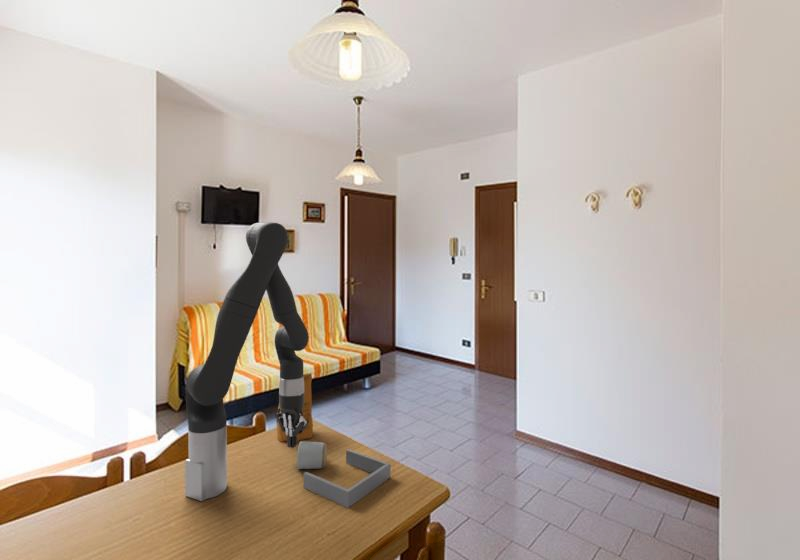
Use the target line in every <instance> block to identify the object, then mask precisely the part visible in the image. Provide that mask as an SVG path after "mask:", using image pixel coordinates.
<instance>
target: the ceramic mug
mask: <svg viewBox="0 0 800 560" xmlns="http://www.w3.org/2000/svg"><path fill="white" fill-rule="evenodd" d="M327 447H328V446H327V443H325V442H321V441H308V440H307V441H306V440H303V441H302V440H299V444H298V447H297V454H296V468H297V470H305V469H306V470H310V469H313V470H317V469H318V470H319V469H323V468H325V466H326V463H327V454H328V452H327V451H328V448H327Z"/></svg>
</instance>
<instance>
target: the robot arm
mask: <svg viewBox="0 0 800 560" xmlns="http://www.w3.org/2000/svg"><path fill="white" fill-rule="evenodd" d="M245 240H246V245H247V247H248V249H249V252H250V254H251V255H252V256H251V258H250V261H249V263H248V264H247V267H246V268H245V270H244V271H243V272H242V273H241V275H239V277H238V278H237V279H236V280H235V281H234V282H233V284H232V285H231V286H230V288H229V289H228V291H227V292H226V293H225V297H224V299H223V302H222V304H221V306H220V308H219V311H218V314H217V318H216V320H215V326H214V327H215V328H214V333H213V341H212V345H211V348H210V351H209V353H208V356H207V358H206V360H205V361H204V364H201V365H198V366H196V367H194V368H193V369H192V370H191V371H190V372H189V373H188V375H187V377H186V380H185V408H186V409H185V410H186V420H187V426H188V428H187V431H188V433H187V434H188V435H187V436H188V441H187V442H188V443H187V444H188V446H187V447H188V448H187V449H188V458H187V459H185V461H184V470H185V471H184V473H185V474H184V477H185V478H184V479H185V482H184V484H185V485H184V487H185V488H184V489H185V493H184V495H185V497H187V498H190V499H194V500H196V501H199V502H203V501H205V500H208V499H212V498H214V497H217V496H220V495H221V494H222V493H224V492H225V491H226V490H227V488H228V460H227V459H228V453H227V452H228V451H227V450H228V449H227V448H228V447H227V446H228V445H227V444H228V443H227V442H228V441H227V440H228V432H227V430H228V426H227V423H228V422H227V419H228V418H227V413H226V412H227V411H226V410H225V409H226V408H225V405H224V398H225V397H226V395H228V392H229V389H230V387H231V384H232V380H233V377H234V373H235V370H236V365H237V362H238V360H239V356H240V354H241V352H242V349H243V347H244V344H245V342H246V340H247V338H248V336H249V333H250V331H251V328H252V326H253V324H254V321H255V319H256V316H257V313H258V311H259V309H260V305H261V304H262V300H263V298H264V295H265V293H267V297H268V300H269V301H268V302H269V305H270V308H271V311H272V316H273V318H274V321H275V322H277V324H280V325H282V326H280V327H279V328H278V329H277V330H276V333H275V336H274V347H275V350H276V355H277V358H278V363H279V384H278V390H279V391H278V406H279V407H280V408H281V412H280V413H278V414H277V413H276V414H275V418H276V419H277V421H278V423H279V425H280V427H281V430H282V431H283V432H286V435H287V441H286V444H287V445H286V446H287V447H288V448H290V449H292V448H294V447H296V445H297V444H298V443H297V442H298V441H297V435H298V434H301V433H302V432H303V430H304V429H305V427H306V426H307V424H308V423H309V421H308V420H305V419H304V417H303V411H302V408H303V406H304V378H303V375H304V360H303V358H302V357H300V356H299V355H297V354H296V352H300V351H303V350H305V349H306V347H307V346H308V343H309V338H310V337H309V333H308V329H307V327H306V325H305V323H304V321H303V319H302V318H301V315H300V313H299V312H298V310H297V305H296V300H295V297H294V294H293V291H292V289H291V286H290V284H289V283H288V281H287V279H286V277H285V276H284V273H283V272H282V270H281V268H280V266H279V262H280V260H281V258H282V257H283V255H284V253H285V250H286V249H287V245H288V241H289V234H288V231H287V229H286V228H285V226H284V225H282V224H281V223H278V222H272V221H271V222H269V221H268V222H256V223H253V224H251V225H250V226H249V227H248V229H247V230H246V233H245ZM295 351H296V352H295ZM277 421H276V422H277ZM283 424H284V425H283Z"/></svg>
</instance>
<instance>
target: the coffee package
mask: <svg viewBox="0 0 800 560" xmlns="http://www.w3.org/2000/svg"><path fill="white" fill-rule="evenodd" d="M303 378H304V406H303V408H302V411H303V417H304V419H305V420H308V421H309V423H308V424H307V426H306V427H305V429H304V430H303V432H302V433H301V434H298V435H297V442H300V441H302V440H303V441H304V440H307V439H311V438H312V437H313V431H314V429H313V427H314V423H313V416H312V413H313V412H312V411H313V410H312V408H313V407H312V406H313V405H312V404H313V403H312V399H313V398H312V381H313V377H312V373H311V372H309V373H305V374H304V373H303ZM280 412H281V408H280V407H279V405H278V407H277V411H276V414H278V413H280ZM283 425H284V424H283ZM276 431H277V432H276V435H277V437H276V438H277V440H278V441H279V443H280V442H281V443H282V442H287V435H286V432H283V431H282V430H281V427H280V425H279V423H278V421H277V418H276Z"/></svg>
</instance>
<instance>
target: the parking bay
mask: <svg viewBox="0 0 800 560" xmlns="http://www.w3.org/2000/svg"><path fill="white" fill-rule="evenodd" d="M345 463H346V464H347V465H350V466H353V467H354V468H355V467H356V468H358V469H361V470H362V471H363V470H364V471H366V472H368V473H370V474H369V475H367V476H365V477H364V478H363V479H361V480H359V481H358V482H356V483H355V484H353V485H351V486H350V487H349V488H346V487H344V486H341V485H339V484H337V483H334V482H332V481H329V480H327V479H325V478H323V477H321V476H318V475H315V474H313V473H310V472H308V471H305V472H303V489H306V490H308V491H310V492H312V493H314V494H316V495H319V496H321V497H323V498H326V499H327V500H330V501H332V502H333V503H336V504H338V505H341V506H343V507H345V508H347V509H348V508H350V507H351V506H352V505H354V504H355V503H357V502H359V501H360V500H362V498H364V497H366V496H367V495H368V494H370V493H372V491H374V490H375V489H376V488H378V487H379V486H381V485H382V484H383V482H384V483H385V482H386V481H388V480H389V479H390V478H391V466H392V465H391V463H389V462H387V461H384V460H381V459H378V458H375V457H372V456H370V455H366V454H363V453H360V452H358V451H355V450H353V449H350V448H348V449H346V451H345ZM389 477H390V478H389ZM388 478H389V479H388ZM387 479H388V480H387Z"/></svg>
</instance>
